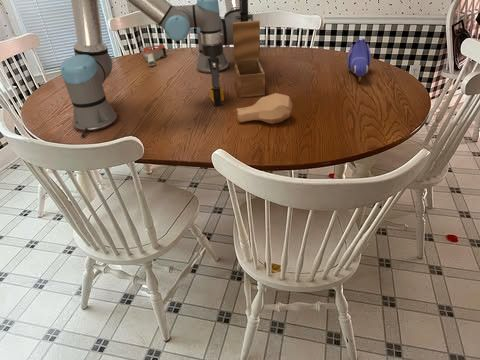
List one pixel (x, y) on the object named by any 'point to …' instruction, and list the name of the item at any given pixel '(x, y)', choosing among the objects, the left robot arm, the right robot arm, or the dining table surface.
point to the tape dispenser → (153, 53)
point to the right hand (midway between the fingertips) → (244, 29)
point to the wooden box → (249, 78)
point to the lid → (246, 39)
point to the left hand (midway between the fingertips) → (217, 98)
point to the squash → (267, 109)
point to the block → (213, 95)
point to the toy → (359, 58)
